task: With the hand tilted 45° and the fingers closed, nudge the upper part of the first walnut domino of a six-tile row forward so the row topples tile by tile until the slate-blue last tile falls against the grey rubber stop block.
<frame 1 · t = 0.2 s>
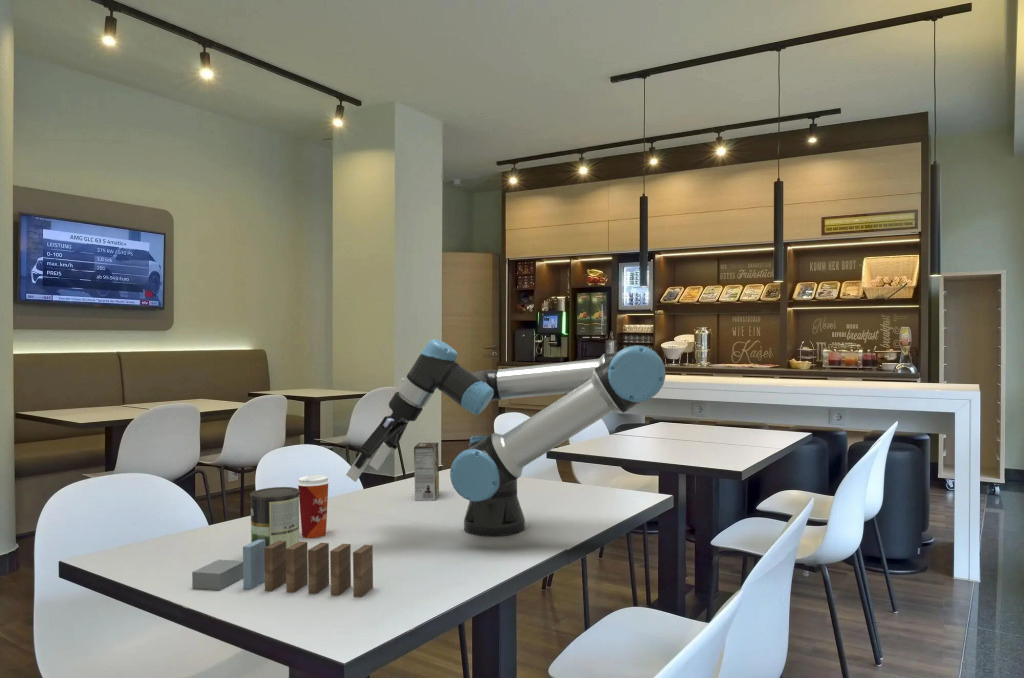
hand: (362, 472, 166), 16 cm above the table, tool tilted 35°, fingers open, 13 cm apart
paper cup: (314, 536, 170), on the table
domino 5: (275, 586, 133), on the table
coffee box: (427, 498, 211), on the table
stop block: (219, 582, 136), on the table
domino 2: (341, 590, 130), on the table
coffee can: (275, 556, 153), on the table
domino 6: (254, 584, 134), on the table
domino 3: (319, 589, 131), on the table
domino 1: (363, 591, 129), on the table
domino 4: (297, 587, 132), on the table
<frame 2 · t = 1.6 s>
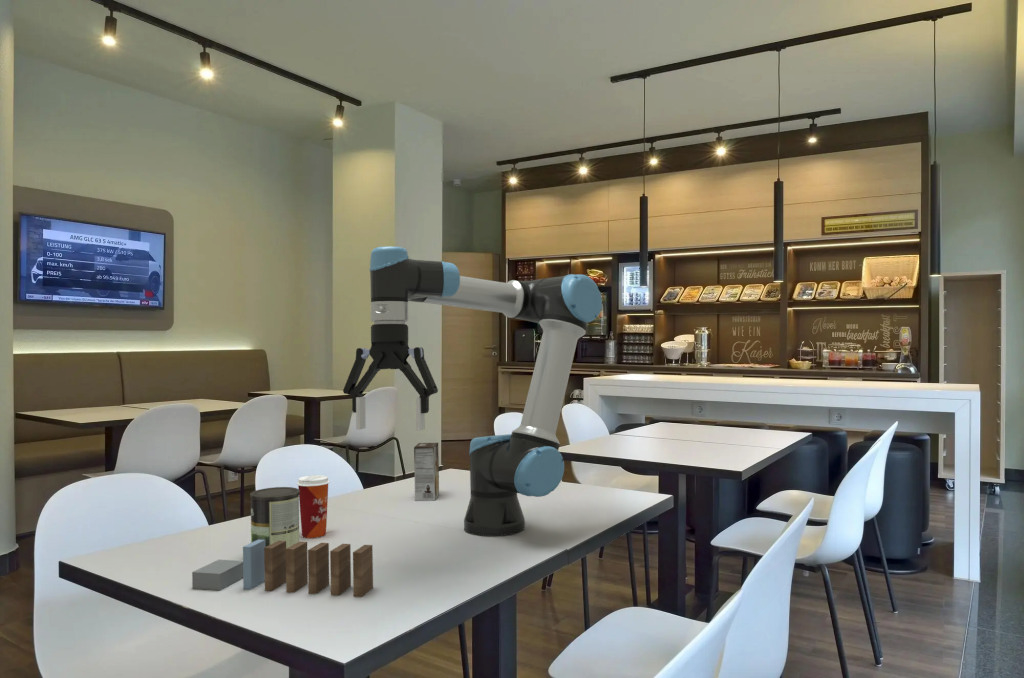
hand: (390, 429, 141), 29 cm above the table, tool pointing down, fingers open, 12 cm apart
nothing on the table moved.
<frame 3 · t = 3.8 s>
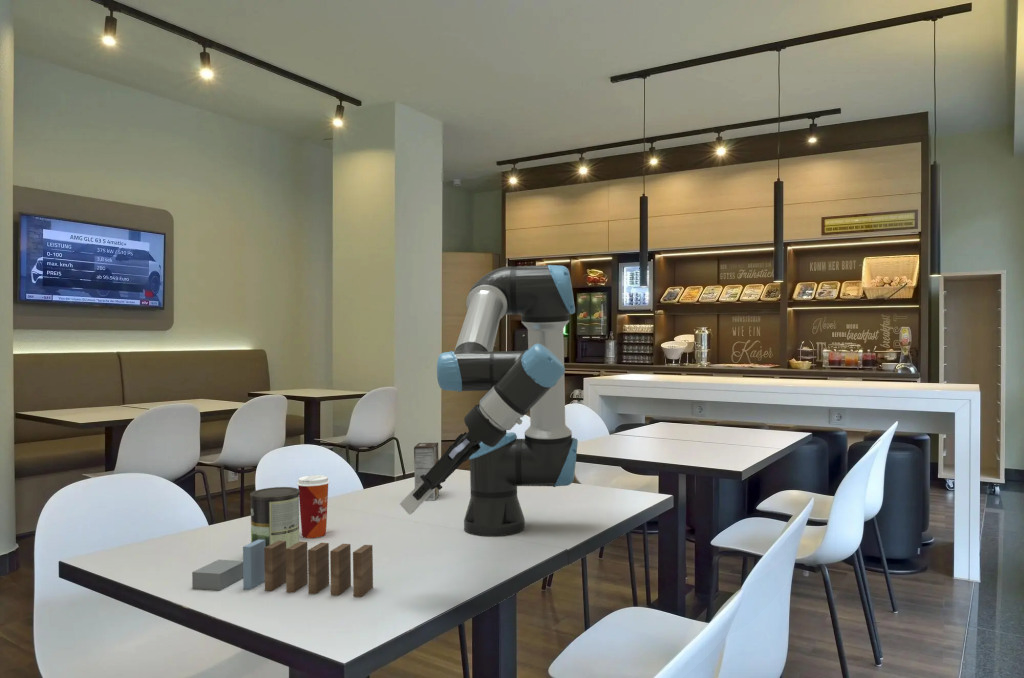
hand: (406, 508, 127), 16 cm above the table, tool tilted 45°, fingers closed
nothing on the table moved.
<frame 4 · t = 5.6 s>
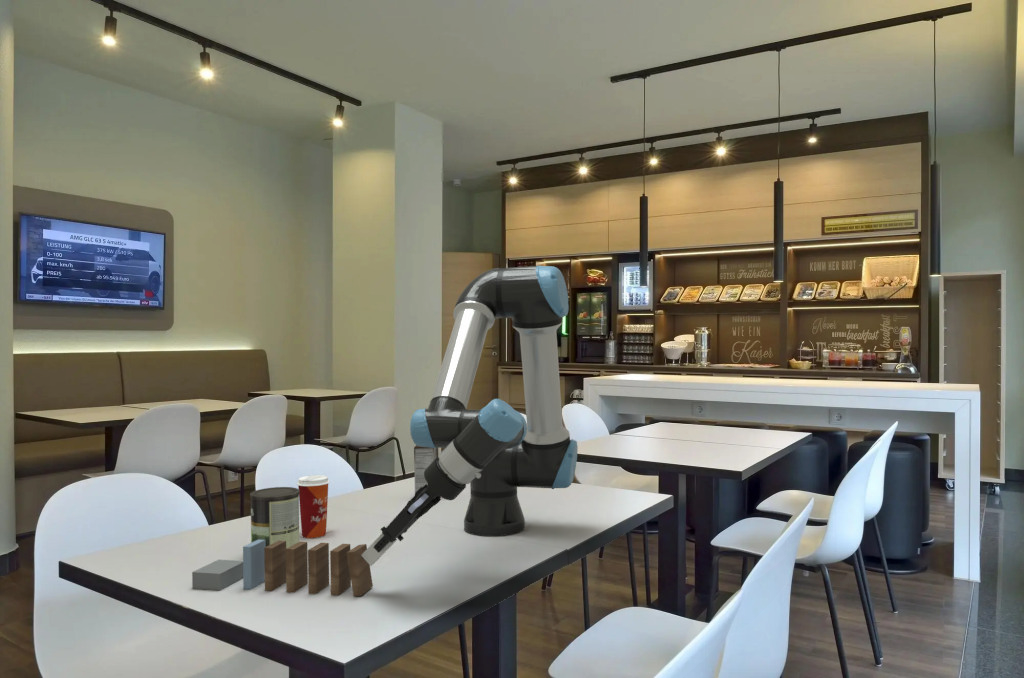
hand: (367, 559, 129), 6 cm above the table, tool tilted 45°, fingers closed
domino 1: (363, 591, 129), on the table, tilted 9°
everything else where it was.
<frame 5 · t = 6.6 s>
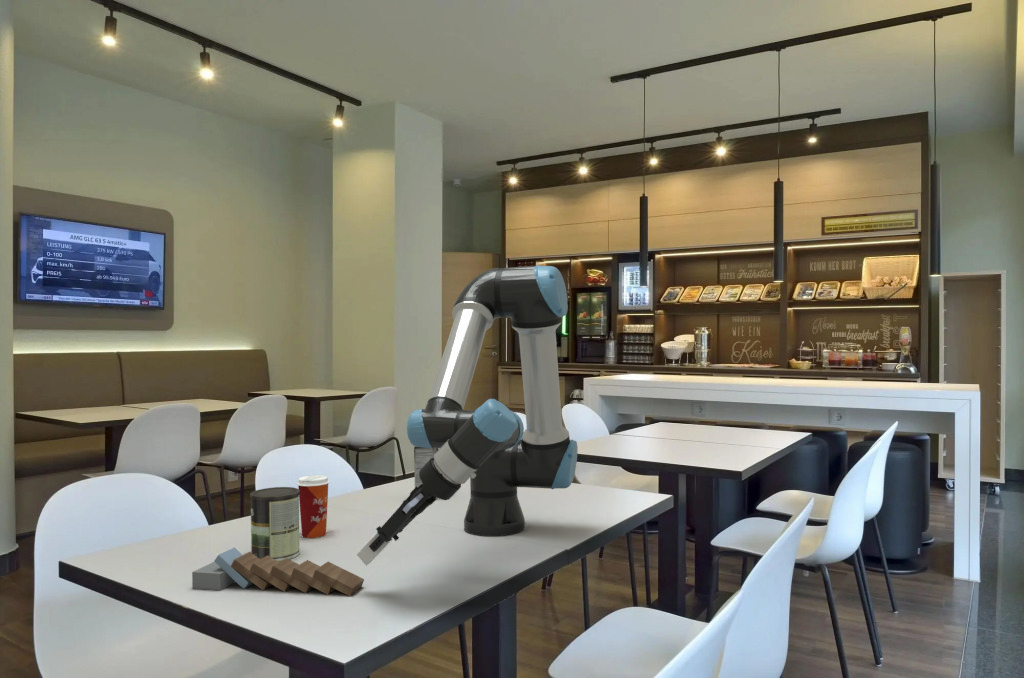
hand: (363, 559, 129), 6 cm above the table, tool tilted 45°, fingers closed
domino 5: (272, 582, 133), point 1 cm above the table, tilted 59°, touching domino 4
domino 2: (335, 586, 131), point 1 cm above the table, tilted 67°, touching domino 1, domino 3
domino 6: (253, 581, 134), point 1 cm above the table, tilted 52°, touching stop block
domino 3: (313, 584, 131), point 1 cm above the table, tilted 66°, touching domino 2
domino 1: (357, 587, 130), point 1 cm above the table, tilted 68°, touching domino 2
domino 4: (292, 583, 132), point 1 cm above the table, tilted 63°, touching domino 5
everything else where it was.
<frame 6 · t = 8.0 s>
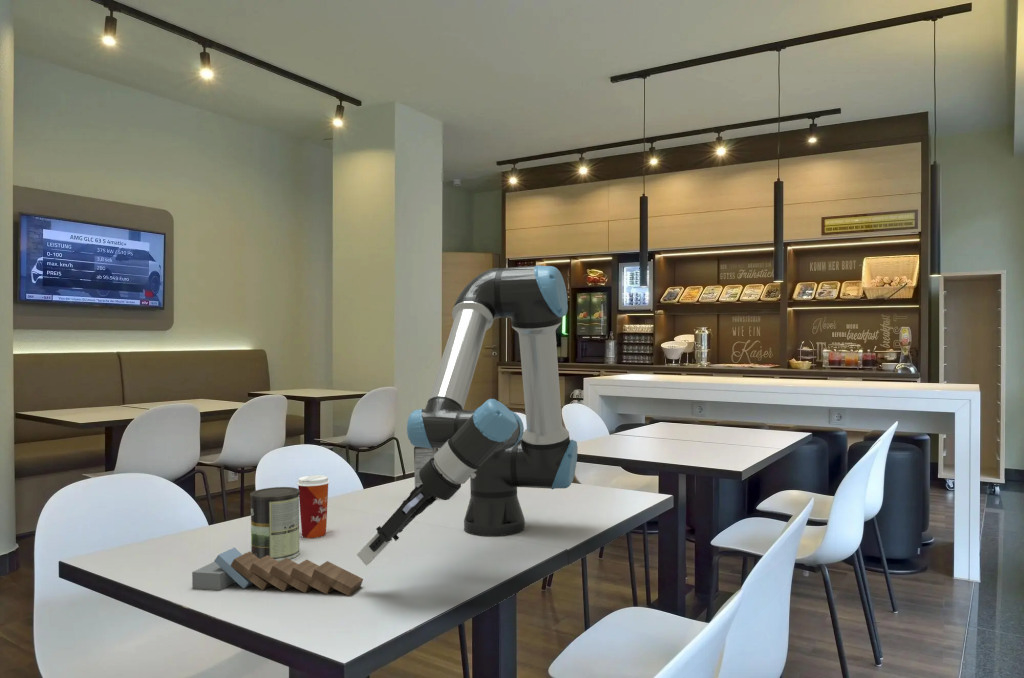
hand: (363, 559, 129), 6 cm above the table, tool tilted 45°, fingers closed
domino 5: (272, 582, 133), point 1 cm above the table, tilted 58°, touching domino 4, domino 6
domino 6: (253, 581, 134), point 1 cm above the table, tilted 52°, touching domino 5, stop block
domino 3: (313, 584, 131), point 1 cm above the table, tilted 66°, touching domino 2, domino 4
domino 4: (292, 583, 132), point 1 cm above the table, tilted 63°, touching domino 3, domino 5
everything else where it was.
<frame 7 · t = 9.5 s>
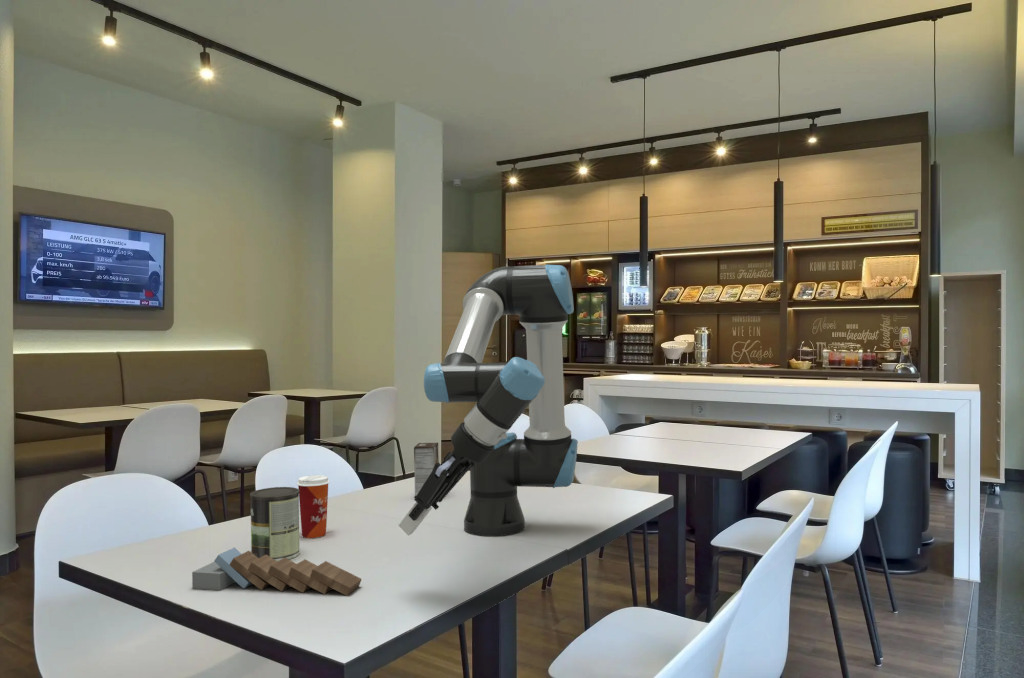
hand: (405, 529, 130), 11 cm above the table, tool tilted 40°, fingers closed
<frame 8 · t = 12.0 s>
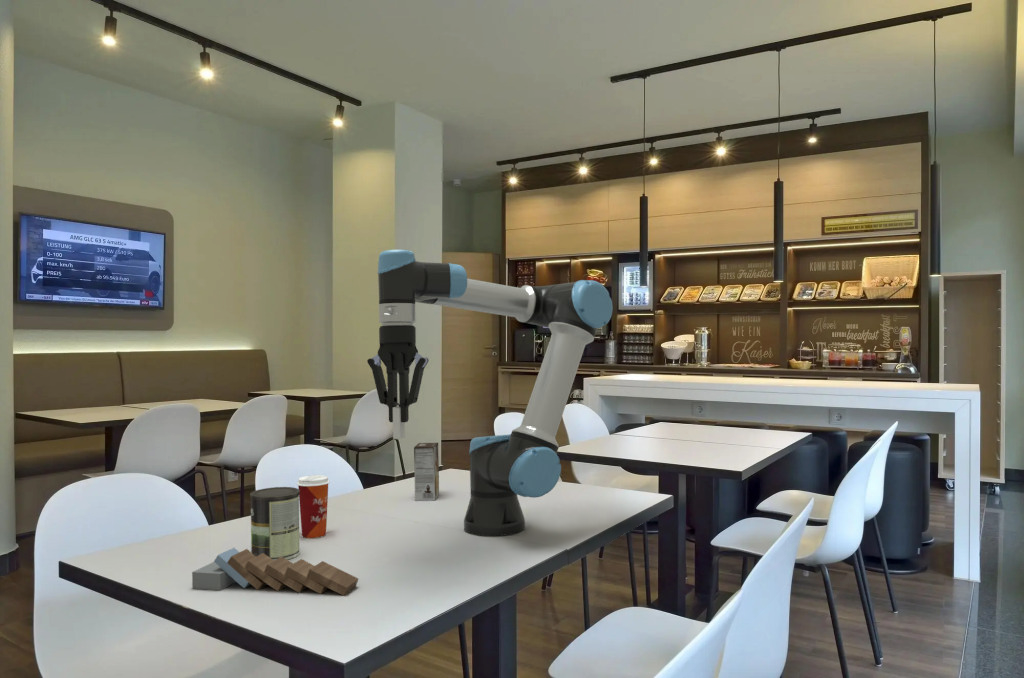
hand: (399, 438, 145), 26 cm above the table, tool pointing down, fingers closed
domino 6: (253, 580, 134), point 1 cm above the table, tilted 53°, touching domino 5, stop block
at the end: domino 6 tilted 53°; domino 1 tilted 68° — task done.
